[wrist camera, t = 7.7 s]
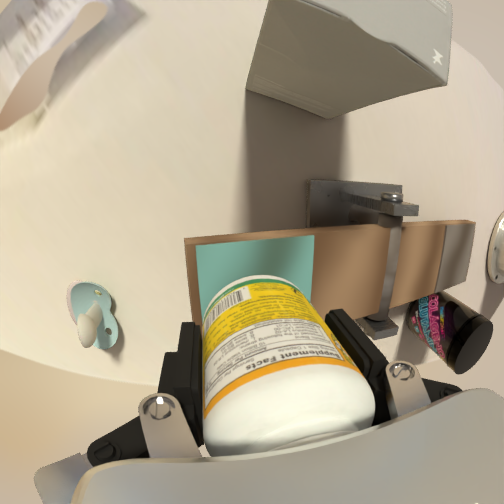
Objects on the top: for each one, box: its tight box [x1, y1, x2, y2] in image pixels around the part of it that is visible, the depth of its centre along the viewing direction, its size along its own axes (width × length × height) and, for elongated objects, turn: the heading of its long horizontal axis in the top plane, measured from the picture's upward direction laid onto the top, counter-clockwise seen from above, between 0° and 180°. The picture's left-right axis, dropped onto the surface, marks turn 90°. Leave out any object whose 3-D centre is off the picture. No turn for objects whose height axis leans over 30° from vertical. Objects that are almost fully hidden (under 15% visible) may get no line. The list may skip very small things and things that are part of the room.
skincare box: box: [245, 0, 452, 119], centre depth 13 cm, size 8×7×16 cm
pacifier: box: [67, 280, 118, 349], centre depth 21 cm, size 7×6×6 cm
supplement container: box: [407, 290, 493, 374], centre depth 25 cm, size 7×7×10 cm
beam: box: [184, 213, 476, 336], centre depth 20 cm, size 30×9×2 cm, turn 91°
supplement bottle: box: [202, 275, 375, 457], centre depth 9 cm, size 5×5×10 cm
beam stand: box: [306, 180, 419, 340], centre depth 22 cm, size 10×13×8 cm
